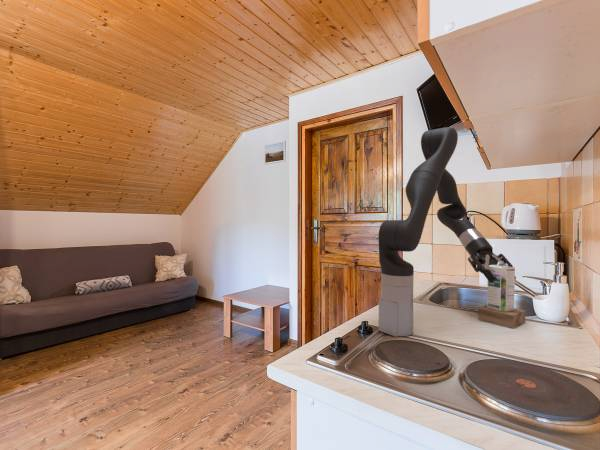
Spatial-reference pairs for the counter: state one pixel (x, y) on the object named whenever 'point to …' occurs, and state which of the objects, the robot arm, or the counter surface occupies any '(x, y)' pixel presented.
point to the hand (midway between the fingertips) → (503, 280)
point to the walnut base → (502, 317)
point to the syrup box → (501, 288)
